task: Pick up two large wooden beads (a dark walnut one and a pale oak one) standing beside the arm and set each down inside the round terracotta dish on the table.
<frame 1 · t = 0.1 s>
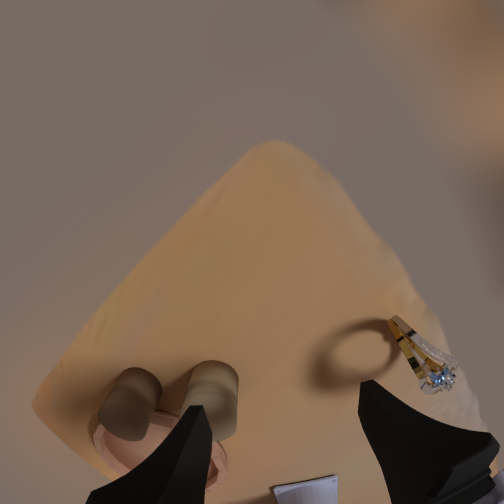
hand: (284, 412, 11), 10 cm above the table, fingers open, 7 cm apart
oak bead: (214, 379, 23), on the table
dish: (160, 451, 25), on the table
walnut bead: (141, 384, 23), on the table
ring: (396, 328, 22), on the table
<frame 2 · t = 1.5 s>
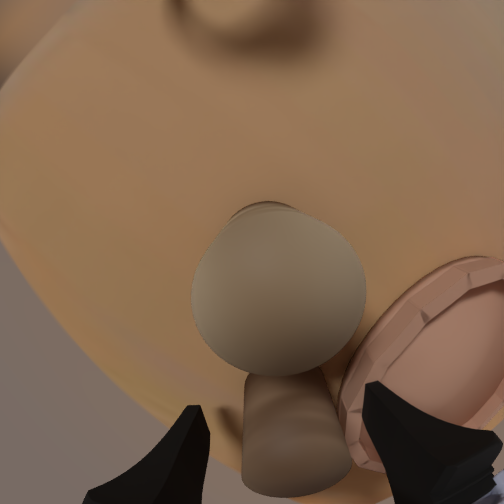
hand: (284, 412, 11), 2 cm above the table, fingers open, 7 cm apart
oak bead: (268, 251, 12), on the table
dish: (446, 372, 13), on the table
walnut bead: (284, 387, 13), on the table
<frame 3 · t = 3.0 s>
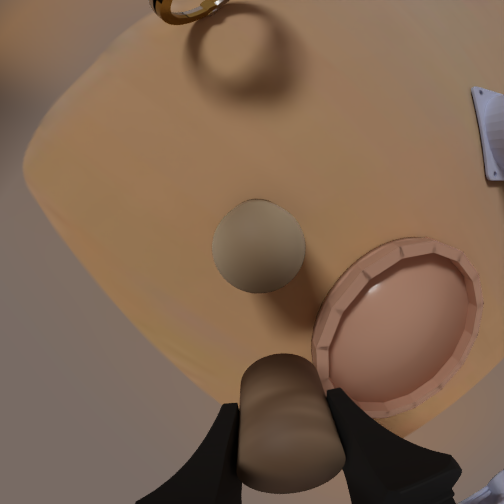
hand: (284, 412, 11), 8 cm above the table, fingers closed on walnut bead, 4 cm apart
oak bead: (257, 231, 18), on the table
dish: (401, 331, 20), on the table
walnut bead: (280, 385, 14), point 6 cm above the table, touching gripper
ring: (210, 12, 15), on the table
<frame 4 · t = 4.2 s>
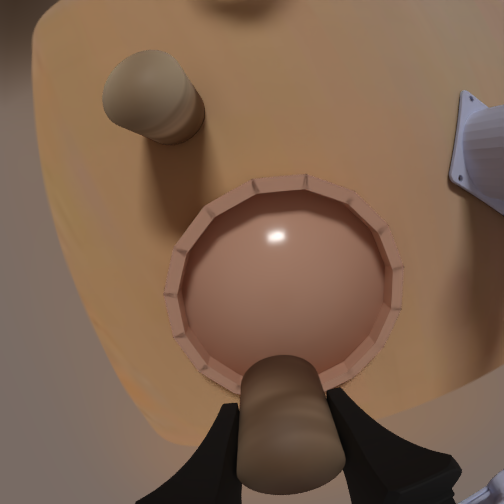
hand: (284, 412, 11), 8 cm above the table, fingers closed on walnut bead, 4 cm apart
oak bead: (173, 114, 16), on the table
dish: (286, 293, 19), on the table
walnut bead: (280, 386, 13), point 6 cm above the table, touching gripper
when the fingers open (3 cm above the table, at t = 5.4 s): walnut bead stays where it is, resting on dish.
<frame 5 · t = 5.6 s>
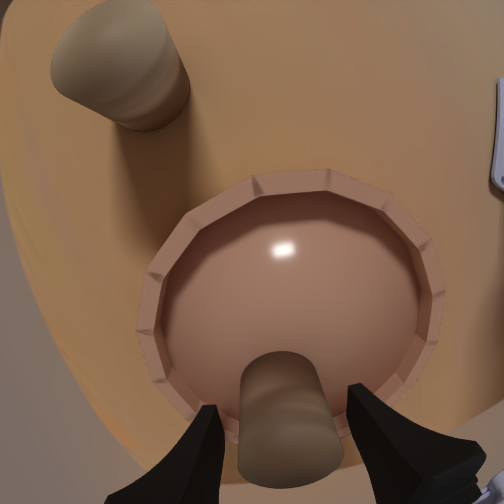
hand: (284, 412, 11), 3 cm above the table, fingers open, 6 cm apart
oak bead: (148, 92, 11), on the table
dish: (297, 326, 14), on the table
walnut bead: (279, 382, 14), point 1 cm above the table, touching dish
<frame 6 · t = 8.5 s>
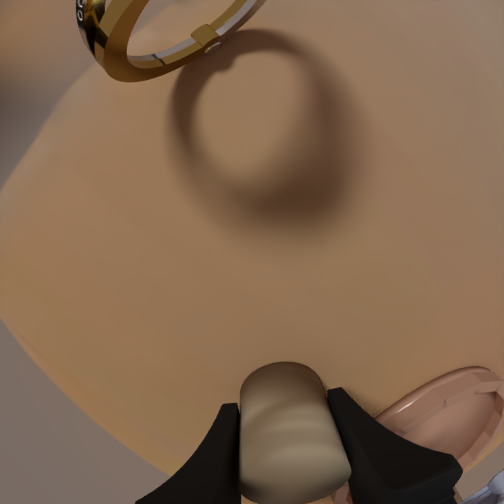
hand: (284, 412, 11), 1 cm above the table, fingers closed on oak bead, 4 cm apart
oak bead: (281, 393, 13), on the table, touching gripper
dish: (423, 445, 15), on the table
ring: (209, 47, 10), on the table
when the fingers open (3 cm above the table, at t = 12.1 s): oak bead drops 1 cm, resting on dish.
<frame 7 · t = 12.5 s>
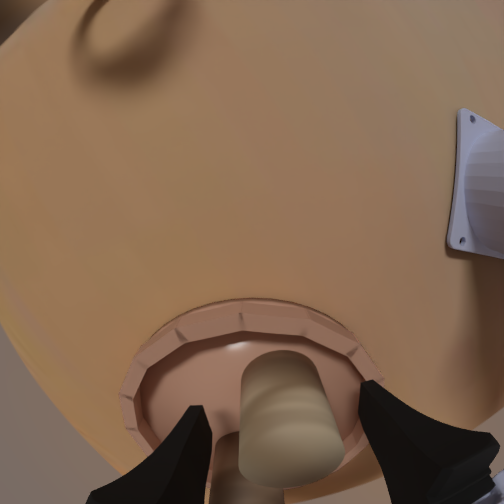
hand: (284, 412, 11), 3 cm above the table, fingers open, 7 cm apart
oak bead: (280, 381, 14), point 1 cm above the table, touching dish
dish: (252, 410, 15), on the table
walnut bead: (246, 449, 15), point 1 cm above the table, touching dish
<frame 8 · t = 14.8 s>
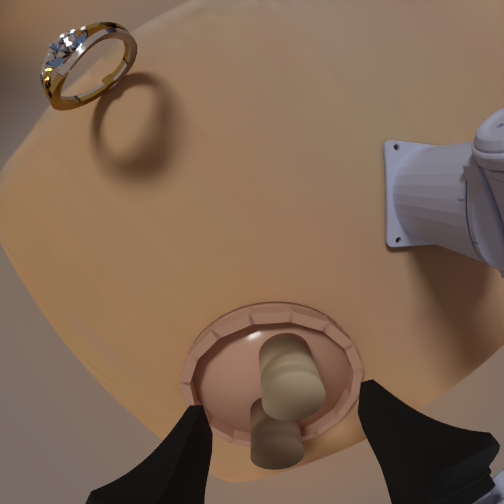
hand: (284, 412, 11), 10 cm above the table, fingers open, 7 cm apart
oak bead: (284, 354, 21), point 1 cm above the table, touching dish
dish: (271, 379, 23), on the table
walnut bead: (273, 410, 23), point 1 cm above the table, touching dish
ring: (114, 85, 18), on the table
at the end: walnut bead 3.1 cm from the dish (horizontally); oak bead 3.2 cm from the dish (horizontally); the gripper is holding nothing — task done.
